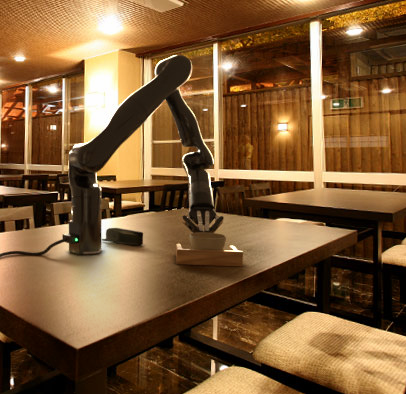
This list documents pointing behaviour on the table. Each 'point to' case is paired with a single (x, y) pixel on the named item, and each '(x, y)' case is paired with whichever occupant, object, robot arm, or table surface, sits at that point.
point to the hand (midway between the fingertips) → (204, 243)
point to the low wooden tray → (209, 256)
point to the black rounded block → (124, 236)
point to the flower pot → (207, 241)
